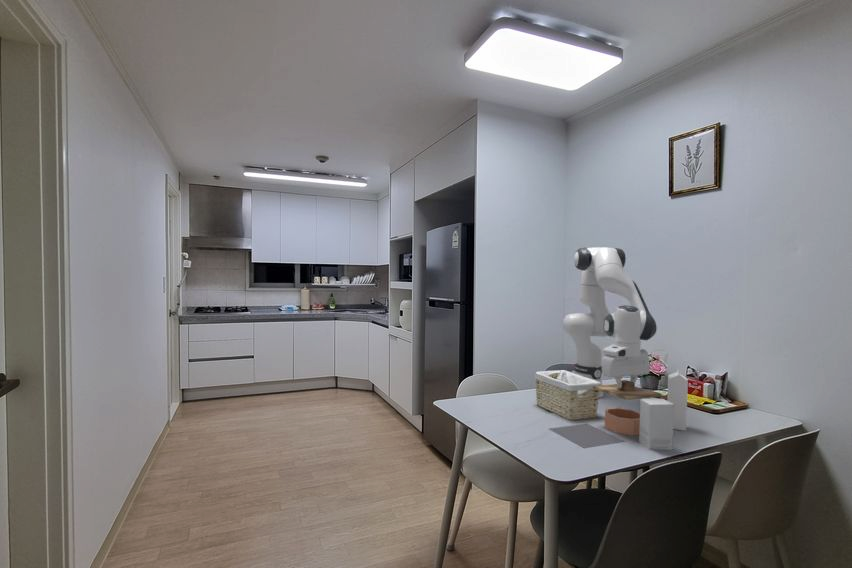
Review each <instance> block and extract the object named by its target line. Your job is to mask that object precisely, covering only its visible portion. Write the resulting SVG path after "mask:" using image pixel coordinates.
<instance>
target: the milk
mask: <svg viewBox="0 0 852 568" xmlns="http://www.w3.org/2000/svg"><path fill="white" fill-rule="evenodd" d="M676 369H677V370H676V372H673V373H671V374H669V375H667V376H668V377H667V399H666V400H667V401H668V402H671V403H673V404H674V414H673V430H679V431H684V432H685V431H686V430H687V416H688V415H687V411H688V389H689V388H688V387H689V386H688V385H689V379H688V378H687V377H686V376H684V374H683V375H682V374H681V373H680V369H679V368H676Z"/></svg>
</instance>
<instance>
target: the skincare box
mask: <svg viewBox="0 0 852 568" xmlns="http://www.w3.org/2000/svg"><path fill="white" fill-rule="evenodd" d="M639 402H640V403H639V404H640V405H639V413H640V429H639V436H638V437H639V438H638V439H639V440H638V442H639V444H641V445H643V447H645V448H647V450H673V444H674V438H673V437H674V429H673V414H674V404H673V403H671V402H668V401H667V399H664V398H643V399H639Z"/></svg>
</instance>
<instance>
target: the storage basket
mask: <svg viewBox="0 0 852 568" xmlns="http://www.w3.org/2000/svg"><path fill="white" fill-rule="evenodd" d="M571 372H572V371H568V370H565V369H561V370H543V371H536V372H535V375H534V379H535V395H536V398H535V399H536V405H537V406H539V407H540V408H543V409H545V410H547V411H548V410H549V411H548V412H550V413H553V414H556V415H558V416H560V417H562V418H564V419H566V420H579V419H580V420H581V419H588V418H596V417H597V414H598V413H597V412H598V407H599V398H600V397H599V394H600V391H598V390H595V389H593V386H599V385H601V383H600V382H598V381H595V380H592V379H589V378H586V377H583V376H580V375H577V374H574V373H571Z"/></svg>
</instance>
